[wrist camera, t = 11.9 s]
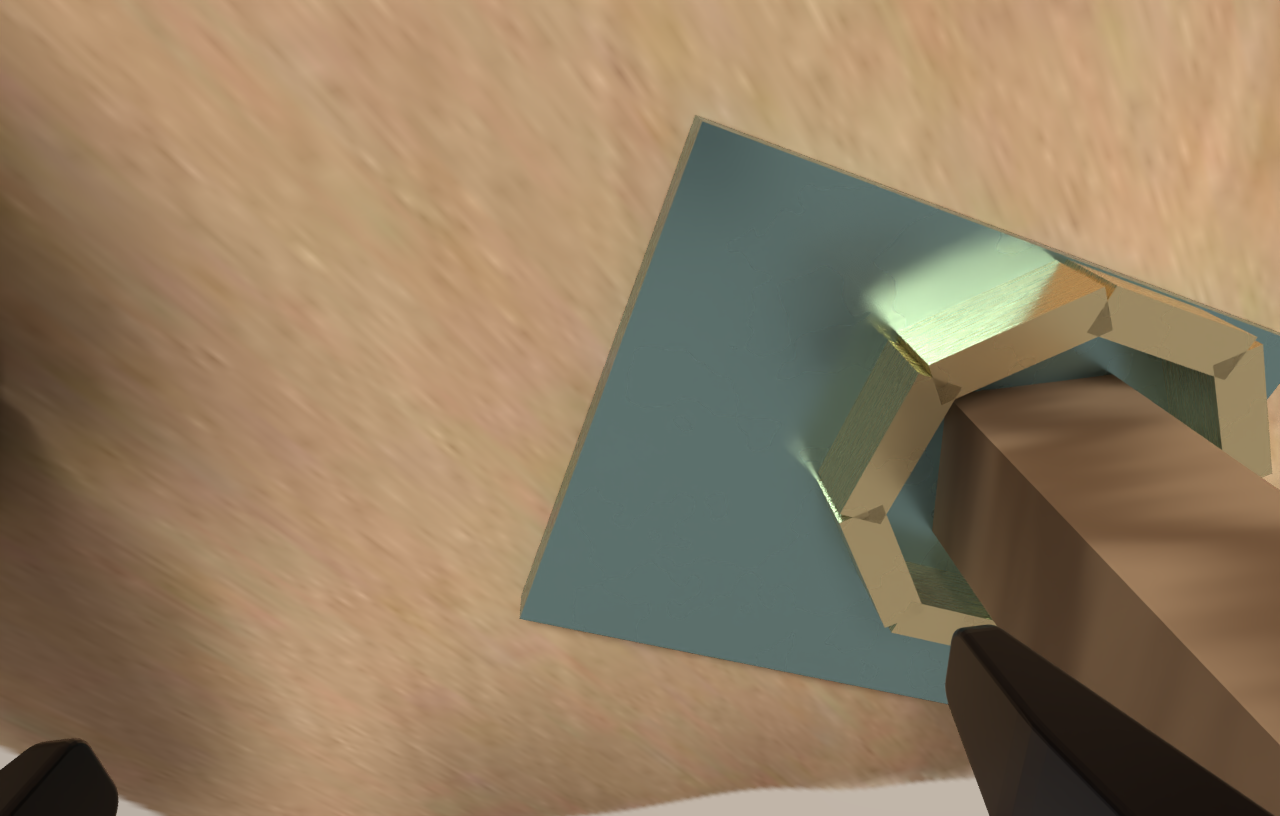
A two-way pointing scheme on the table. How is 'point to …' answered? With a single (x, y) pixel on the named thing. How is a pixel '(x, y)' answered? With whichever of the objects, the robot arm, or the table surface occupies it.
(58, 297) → the table surface
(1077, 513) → the peg
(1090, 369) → the socket plate
